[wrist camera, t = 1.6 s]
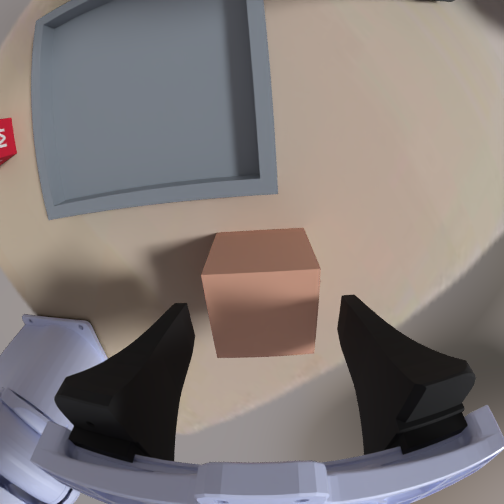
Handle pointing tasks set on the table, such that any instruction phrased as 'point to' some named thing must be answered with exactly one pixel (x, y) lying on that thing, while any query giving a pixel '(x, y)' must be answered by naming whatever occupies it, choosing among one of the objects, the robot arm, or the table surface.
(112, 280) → the table surface
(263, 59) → the tray
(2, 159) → the red letter cube
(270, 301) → the wooden cube
